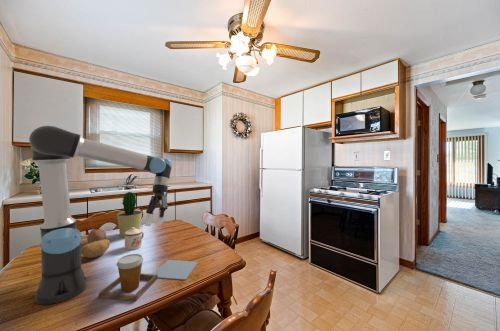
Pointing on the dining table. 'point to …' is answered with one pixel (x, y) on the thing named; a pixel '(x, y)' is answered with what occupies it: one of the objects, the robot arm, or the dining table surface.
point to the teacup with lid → (133, 238)
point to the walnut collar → (123, 296)
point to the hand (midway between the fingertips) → (153, 225)
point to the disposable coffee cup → (130, 271)
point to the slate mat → (176, 269)
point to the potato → (95, 248)
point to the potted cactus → (129, 214)
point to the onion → (96, 235)
